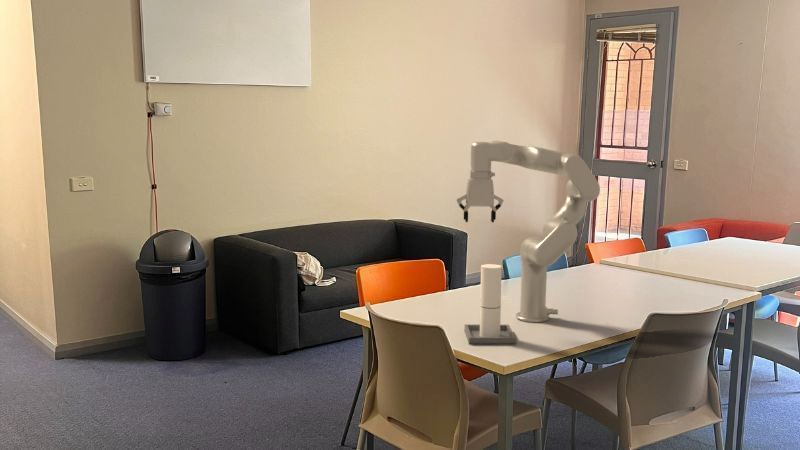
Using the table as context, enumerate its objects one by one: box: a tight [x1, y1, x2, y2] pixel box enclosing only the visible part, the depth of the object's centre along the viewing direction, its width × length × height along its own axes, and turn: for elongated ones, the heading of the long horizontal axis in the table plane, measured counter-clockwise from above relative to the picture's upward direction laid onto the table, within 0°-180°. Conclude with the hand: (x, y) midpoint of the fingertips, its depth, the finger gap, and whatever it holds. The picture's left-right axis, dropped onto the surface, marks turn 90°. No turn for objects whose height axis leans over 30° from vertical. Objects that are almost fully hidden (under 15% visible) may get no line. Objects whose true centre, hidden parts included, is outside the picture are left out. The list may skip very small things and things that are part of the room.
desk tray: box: [464, 323, 517, 346], centre depth 263 cm, size 16×16×2 cm
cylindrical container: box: [479, 263, 503, 337], centre depth 262 cm, size 7×7×25 cm
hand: (479, 221), depth 278 cm, fingers open, 9 cm apart
